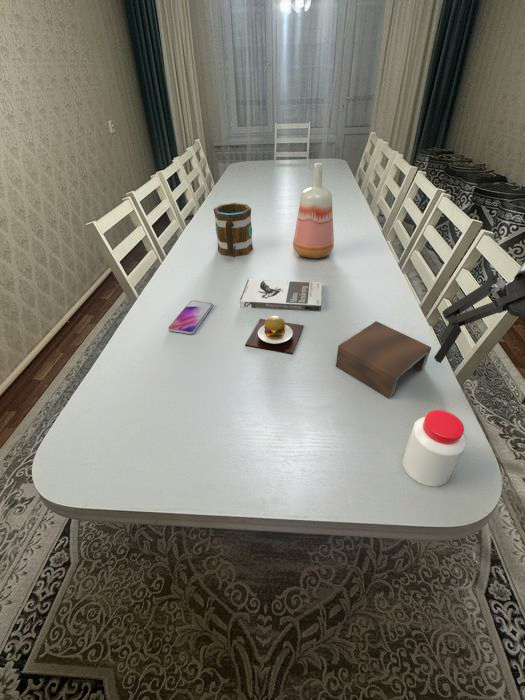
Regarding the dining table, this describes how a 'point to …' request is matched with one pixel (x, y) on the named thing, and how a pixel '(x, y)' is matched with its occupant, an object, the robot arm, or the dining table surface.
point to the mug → (233, 229)
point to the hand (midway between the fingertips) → (477, 380)
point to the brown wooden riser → (381, 357)
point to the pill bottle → (434, 448)
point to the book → (282, 295)
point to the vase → (315, 220)
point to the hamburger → (275, 335)
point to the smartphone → (190, 317)
